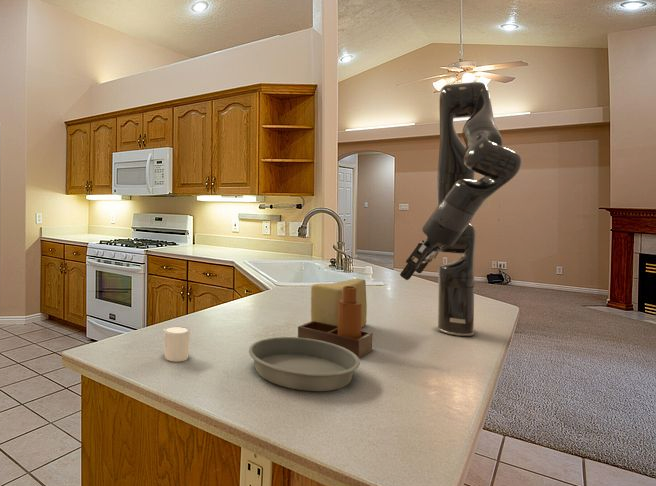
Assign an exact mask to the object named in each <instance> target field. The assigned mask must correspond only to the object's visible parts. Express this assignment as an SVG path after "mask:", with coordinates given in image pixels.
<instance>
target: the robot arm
mask: <svg viewBox="0 0 656 486" xmlns="http://www.w3.org/2000/svg"><path fill="white" fill-rule="evenodd" d="M490 95H491V94H490V91H489V88H488V87H487V85H486V84H485V83H483V82H480V81H471V82H463V83H453V84H445V85H444V86H442V88H441V89H440V93H439V99H438V100H439V102H438V103H439V104H438V110H439V150H438V161H437V177H436V178H437V179H436V180H437V181H436V183H437V184H436V189H437V190H436V196H437V197H436V207H435V209H434V211H432V213H431V215H430V216H429V218H428V219H427V221H426V222H425V223H424V225H423V226H422V229H421V230H422V233H423V234H424V235H425V236H426V237H427V238H425V239H424V240H421V241H420V242H419V243H417V245H416V247H415V248H414V249H413V251H412V252H411V254H410V255H409V257H408V258H407V259H406V260H405V263H406V265H405V267H404V268H403V269H402V271H401V272H400V274H399V275H400V277H401V278H402V279H404V280H406V281H408V280H410V279H411V278H412V276H413V275H414V273H415V272H416V273H417V274H422V273H423V272H424V270H425V269H426V267H427V266H428V265H429V263H431V262H432V261H433V260H435V259H436V258H437V255H438V254H439V253H441V254H457V255H461V256H460V257H459V258H457V259H456V260H454V261H451V262H446V263H443V264H441V265H439V266H438V293H437V294H438V297H437V298H438V299H437V300H438V301H437V302H438V303H437V304H438V307H437V310H438V312H437V318H438V319H437V331H439V332H440V333H443V334H447V335H451V336H458V337H472V336H474V335H475V331H474V328H475V327H474V325H475V324H474V323H475V254H476V245H477V244H476V243H477V232H476V227H475V226H474V225H473V224H472V223H471V222H472V221H473V218H474V217H475V215H476V214H477V212H478V211H479V210H480V208H481V207H482V206H483V204H484V203H485V202H486V200H487V199H489V198H490V197H491V196H492V195H493V194H495V193H496V192H497V191H498V190H500V189H502V187H504V186H505V185H506V184H508V183H509V182H511V180H513V179H514V178H515V177H516V176H517V175H518V173H519V172H520V170H521V168H522V165H523V164H522V163H523V159H522V156H521V155H520V154H519V153H518V152H516V151H514V150H512V149H509V148H506V147H504V146H503V143H504V142H503V137H502V135H501V133H500V131H499V129H498V127H497V125H496V122H495V119H494V110H493V105H492V100H491V96H490ZM463 118H468V119H467V120H466V121H465V123H464V125H463V127H462V138H463V141H464V143H465V144H464V143H463V141H462V139H460V137H459V135H458V133H457V131H456V129H455V126H454V125H455V124H454V119H463ZM476 173H477V174H479V175H482V176H483V177H482V178H479V179H478V180H477V179H476V180H475V176H476ZM415 259H416V260H417V261H414V260H415Z"/></svg>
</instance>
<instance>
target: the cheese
mask: <svg viewBox="0 0 656 486" xmlns="http://www.w3.org/2000/svg"><path fill="white" fill-rule="evenodd" d="M344 286H352V287H356V301H358V302H361V304H362V306H361V328H364V327H365V326H366V325H367V315H368V314H367V312H368V310H367V309H368V308H367V307H368V303H367V285H366V280H365V278H352V279H348V280H343V281H339V282H331V283H314V284H312V285H311V288H310V291H311V292H310V320H311V321H317V322H322V323H327V324H331V325H336V326H338V301H339V300H343V287H344ZM311 321H310V322H311Z"/></svg>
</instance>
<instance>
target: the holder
mask: <svg viewBox="0 0 656 486" xmlns="http://www.w3.org/2000/svg"><path fill="white" fill-rule="evenodd" d="M297 338H308V339H315V340H320V341H325V342H329V343H332V344H336V345H338V346H341V347H344V348H346V349H348V350H350V351H351V352H353V353H354V354H355V355H356V356H357V357H358V358H359V359H361V358H362V357H364V356H366V355H367V354H369V353H370V352H372V351H373V332H369V331H364V330H361V337H360V338H358V339H355V338H350V337H346V336H341V335H338V326H336V325H331V324H327V323H322V322H317V321H309V322H306V323H303V324H301V325H299V326H297Z"/></svg>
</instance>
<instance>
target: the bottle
mask: <svg viewBox="0 0 656 486" xmlns="http://www.w3.org/2000/svg"><path fill="white" fill-rule="evenodd" d="M361 306H362V304H361V302H358V301H356V287H352V286H344V287H343V300H339V301H338V335H341V336H346V337H350V338H355V339H358V338H360V337H361V331H362V327H361Z"/></svg>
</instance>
